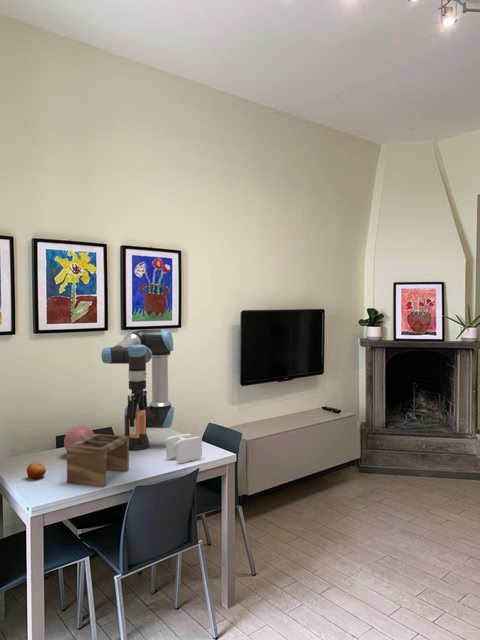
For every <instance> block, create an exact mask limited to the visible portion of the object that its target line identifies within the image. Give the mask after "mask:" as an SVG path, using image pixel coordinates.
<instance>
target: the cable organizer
mask: <svg viewBox="0 0 480 640" xmlns="http://www.w3.org/2000/svg"><path fill="white" fill-rule="evenodd" d="M165 445H166V449H165V450H166V458H167V459H169V460H176V462H178V463H180V464H186V463H188V462H195V461H198V460H199V459H201V458H202V456H203V438H202V437H200V436H198V435H197V436H193V435H192V433H184V434H178V435H173V436H169V437H167V438H166V444H165Z"/></svg>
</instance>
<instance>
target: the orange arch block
mask: <svg viewBox="0 0 480 640" xmlns="http://www.w3.org/2000/svg"><path fill="white" fill-rule="evenodd" d="M135 419H136V434H130V419H129V437H130V438H139V434H145V433H147V428H146V410H136V416H135Z"/></svg>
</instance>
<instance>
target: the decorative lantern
mask: <svg viewBox="0 0 480 640" xmlns="http://www.w3.org/2000/svg"><path fill="white" fill-rule="evenodd" d="M93 434H95V432H94V431H93V430H92V429H91V428H90V427H88V426H85V425H77V426H73V427H72V428H70V429H69V430H68V431H67V433H65V436H64V439H63V445H64V449H65V451H67V446H69V445H71V444H73V443H75V442H77V441H80V440H82V439H84V438H86V437H88V436H91V435H93ZM85 446H87V447H92V445H85Z"/></svg>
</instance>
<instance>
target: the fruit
mask: <svg viewBox="0 0 480 640" xmlns="http://www.w3.org/2000/svg"><path fill="white" fill-rule="evenodd" d="M46 471H47V470H46V467H45V465H44V464H43V463H42V462H40V461H32V462H30V463H29V464H28V466H27V468H26V474H27V480H29V479H32V480H40V479H41V478H43V476H45V474H46Z"/></svg>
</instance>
